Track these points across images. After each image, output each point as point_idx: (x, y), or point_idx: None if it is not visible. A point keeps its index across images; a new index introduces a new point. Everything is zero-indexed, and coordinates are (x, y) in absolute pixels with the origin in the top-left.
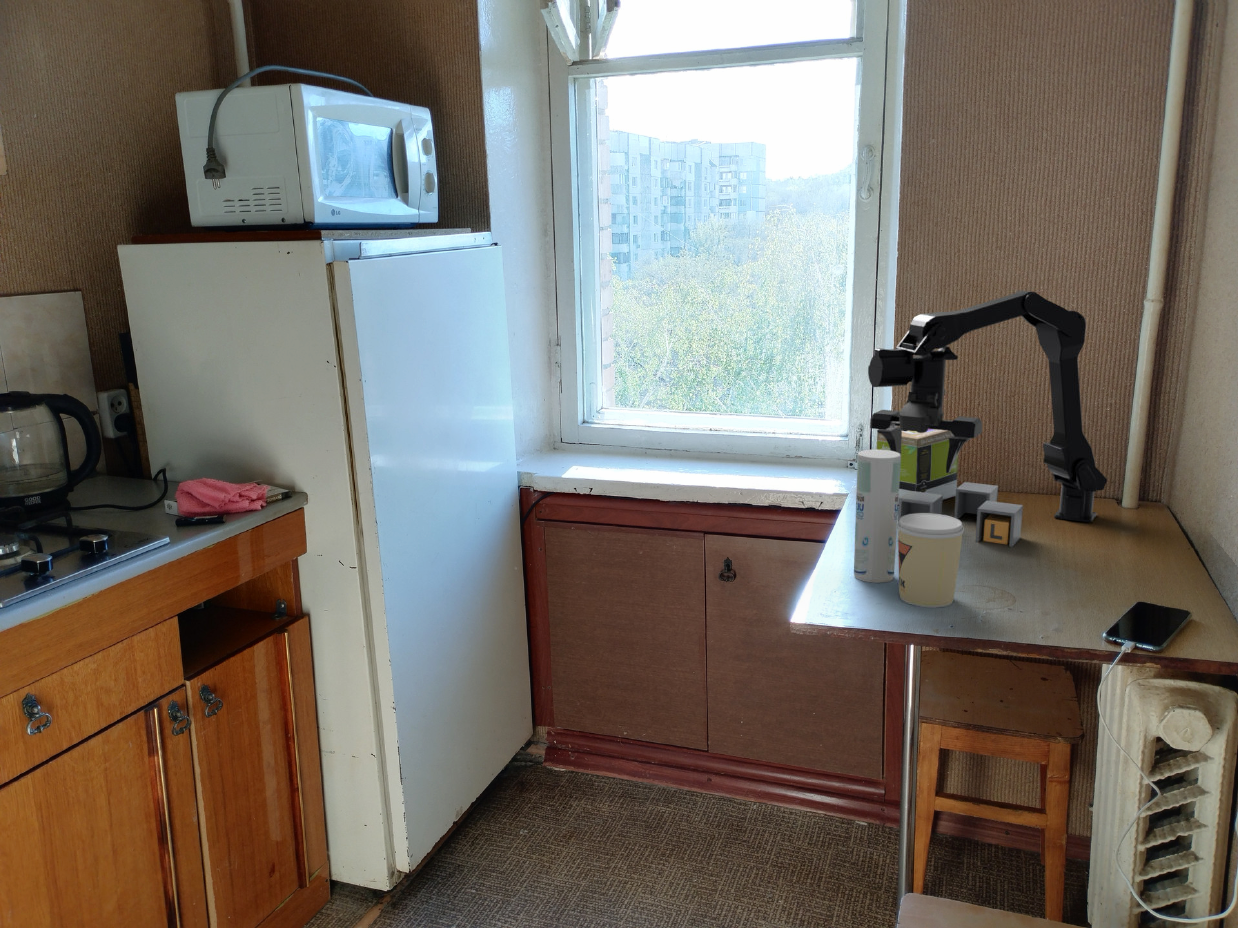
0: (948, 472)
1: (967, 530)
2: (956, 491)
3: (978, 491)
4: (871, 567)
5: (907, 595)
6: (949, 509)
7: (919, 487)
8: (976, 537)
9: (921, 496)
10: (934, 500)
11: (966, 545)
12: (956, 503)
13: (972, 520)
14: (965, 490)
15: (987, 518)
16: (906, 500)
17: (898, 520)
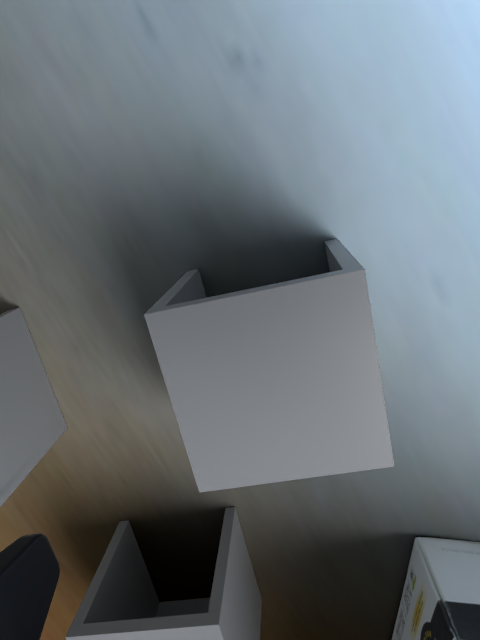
0: (20, 539)
1: (122, 413)
2: (218, 611)
3: (115, 634)
4: None
5: None
6: (312, 599)
7: (440, 636)
8: (7, 312)
9: (271, 395)
10: (166, 364)
11: (6, 232)
12: (222, 559)
13: (180, 529)
14: (174, 625)
15: None
16: (311, 278)
17: (339, 246)
